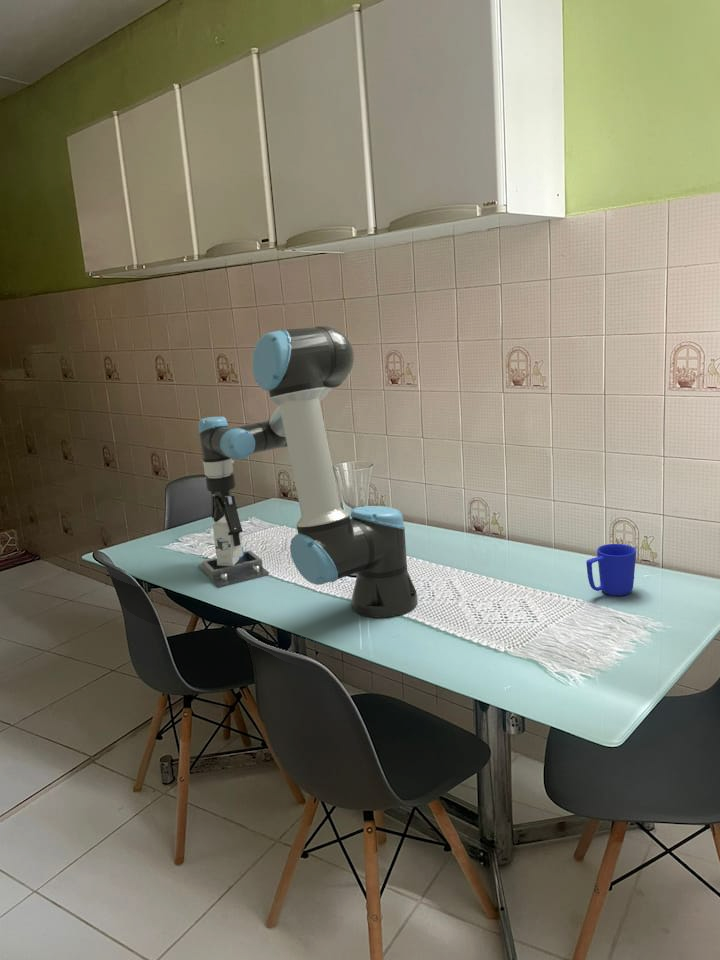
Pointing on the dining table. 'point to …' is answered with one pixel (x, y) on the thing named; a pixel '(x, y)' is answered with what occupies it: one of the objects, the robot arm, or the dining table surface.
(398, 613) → the robot arm
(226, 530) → the ink box
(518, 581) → the dining table surface
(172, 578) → the dining table surface
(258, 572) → the tray
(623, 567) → the mug
